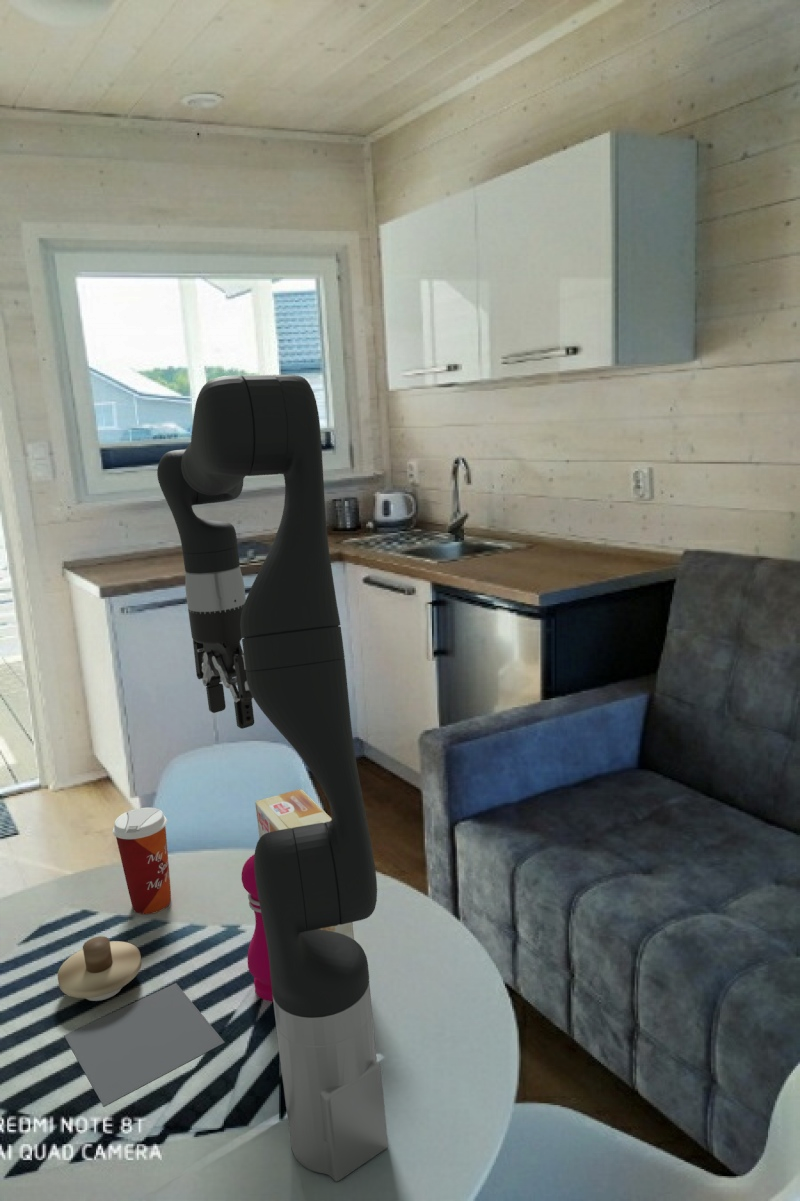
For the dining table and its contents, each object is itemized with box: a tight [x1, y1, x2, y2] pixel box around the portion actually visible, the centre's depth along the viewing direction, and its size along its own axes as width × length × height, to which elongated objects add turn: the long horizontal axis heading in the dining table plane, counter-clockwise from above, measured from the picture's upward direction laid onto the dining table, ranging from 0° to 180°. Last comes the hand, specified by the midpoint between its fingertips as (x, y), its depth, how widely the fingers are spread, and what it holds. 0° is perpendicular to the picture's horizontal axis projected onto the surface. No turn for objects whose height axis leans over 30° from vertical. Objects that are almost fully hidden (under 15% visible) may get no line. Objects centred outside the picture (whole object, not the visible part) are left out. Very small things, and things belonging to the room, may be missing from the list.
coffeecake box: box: [254, 789, 355, 940], centre depth 116 cm, size 15×7×20 cm, turn 27°
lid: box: [57, 935, 142, 999], centre depth 111 cm, size 10×10×4 cm
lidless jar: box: [85, 987, 123, 1002], centre depth 112 cm, size 5×3×5 cm
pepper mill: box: [241, 853, 273, 1002], centre depth 108 cm, size 7×7×20 cm
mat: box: [63, 982, 226, 1107], centre depth 103 cm, size 14×14×1 cm
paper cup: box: [112, 807, 172, 915], centre depth 130 cm, size 8×8×14 cm
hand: (231, 718), depth 119 cm, fingers open, 8 cm apart
